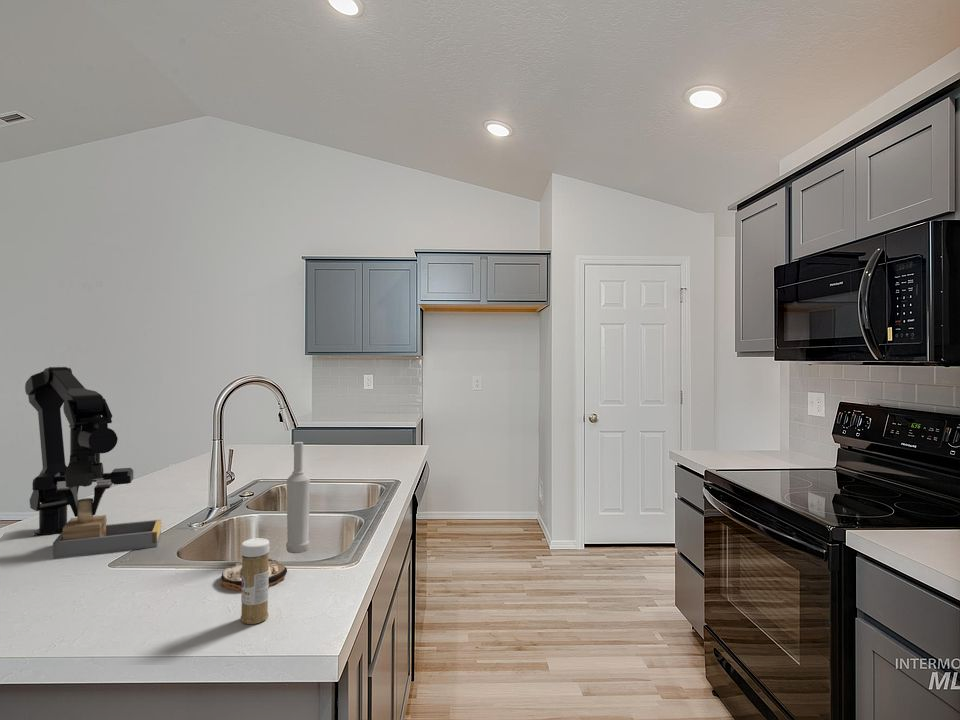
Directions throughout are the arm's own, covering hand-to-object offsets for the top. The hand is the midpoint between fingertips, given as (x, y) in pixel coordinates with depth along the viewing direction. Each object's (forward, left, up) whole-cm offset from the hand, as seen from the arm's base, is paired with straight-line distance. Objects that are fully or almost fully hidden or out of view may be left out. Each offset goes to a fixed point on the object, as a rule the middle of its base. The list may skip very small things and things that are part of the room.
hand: (85, 515), depth 134 cm
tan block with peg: (0, 0, -6) cm, 6 cm away
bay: (0, +5, -8) cm, 9 cm away
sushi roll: (+34, +35, -8) cm, 49 cm away
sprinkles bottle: (+53, +34, -8) cm, 63 cm away
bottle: (+20, +45, -8) cm, 50 cm away
